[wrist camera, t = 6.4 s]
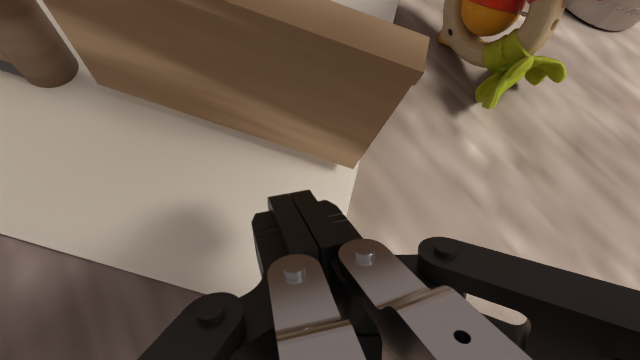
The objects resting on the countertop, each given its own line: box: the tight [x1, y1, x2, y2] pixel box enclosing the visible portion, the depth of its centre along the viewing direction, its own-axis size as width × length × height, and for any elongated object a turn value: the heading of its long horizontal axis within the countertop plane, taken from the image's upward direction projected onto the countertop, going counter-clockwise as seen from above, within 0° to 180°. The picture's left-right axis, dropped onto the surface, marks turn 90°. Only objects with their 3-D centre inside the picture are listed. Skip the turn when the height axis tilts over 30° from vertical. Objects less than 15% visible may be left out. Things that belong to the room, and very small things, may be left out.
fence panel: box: [42, 0, 430, 169], centre depth 13 cm, size 2×13×8 cm, turn 75°
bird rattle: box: [438, 0, 602, 109], centre depth 19 cm, size 6×11×9 cm
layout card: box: [0, 0, 399, 298], centre depth 19 cm, size 24×28×1 cm
